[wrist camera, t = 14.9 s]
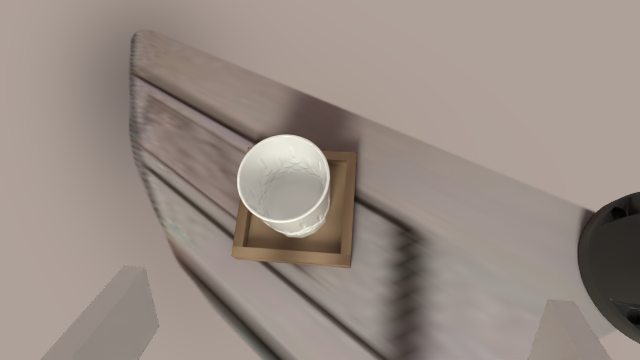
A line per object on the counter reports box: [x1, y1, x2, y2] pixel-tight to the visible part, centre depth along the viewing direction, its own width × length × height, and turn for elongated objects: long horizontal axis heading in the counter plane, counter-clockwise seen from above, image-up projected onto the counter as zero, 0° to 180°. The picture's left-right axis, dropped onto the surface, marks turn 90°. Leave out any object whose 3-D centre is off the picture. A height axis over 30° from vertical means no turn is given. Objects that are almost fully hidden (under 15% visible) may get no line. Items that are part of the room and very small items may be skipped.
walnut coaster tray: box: [231, 147, 357, 268], centre depth 42 cm, size 12×12×2 cm
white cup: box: [237, 134, 331, 238], centre depth 38 cm, size 8×8×10 cm
